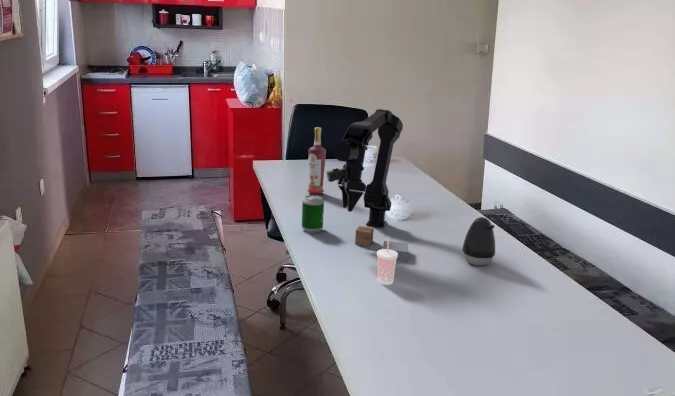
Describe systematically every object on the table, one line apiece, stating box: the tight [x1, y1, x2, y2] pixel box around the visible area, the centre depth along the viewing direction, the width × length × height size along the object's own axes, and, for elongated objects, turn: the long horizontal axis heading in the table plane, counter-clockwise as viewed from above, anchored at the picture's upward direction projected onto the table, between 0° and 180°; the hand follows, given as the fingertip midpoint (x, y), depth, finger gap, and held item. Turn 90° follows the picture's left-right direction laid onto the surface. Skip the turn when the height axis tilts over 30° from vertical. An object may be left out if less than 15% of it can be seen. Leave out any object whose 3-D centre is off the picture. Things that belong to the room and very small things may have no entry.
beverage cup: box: [376, 235, 398, 286], centre depth 182 cm, size 6×6×14 cm
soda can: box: [301, 194, 325, 234], centre depth 221 cm, size 8×8×12 cm
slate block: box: [382, 240, 409, 262], centre depth 203 cm, size 8×8×4 cm
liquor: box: [307, 126, 327, 196], centre depth 260 cm, size 7×7×28 cm
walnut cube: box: [354, 225, 375, 247], centre depth 213 cm, size 5×5×5 cm
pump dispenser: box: [461, 216, 496, 267], centre depth 199 cm, size 10×10×15 cm
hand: (346, 209), depth 207 cm, fingers open, 9 cm apart
